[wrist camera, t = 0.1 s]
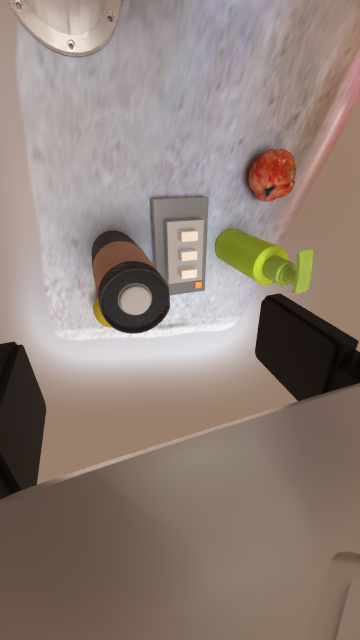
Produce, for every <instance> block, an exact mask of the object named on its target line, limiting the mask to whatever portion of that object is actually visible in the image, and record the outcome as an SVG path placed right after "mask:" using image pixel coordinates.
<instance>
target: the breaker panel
mask: <svg viewBox="0 0 360 640" xmlns="http://www.w3.org/2000/svg"><path fill="white" fill-rule="evenodd" d="M150 202H151V221H152V239H153V257H154V267H155V268H156V269H157V271H158V272H159V273H160V274H161V276H162V277H163V278H164V280H165V281H166V282H167V284H168V286H169V295H175V294H182V293H189V292H197V291H204V290H205V267H206V243H207V219H208V197H204V196H200V197H173V198H150Z"/></svg>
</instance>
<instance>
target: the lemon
mask: <svg viewBox="0 0 360 640" xmlns="http://www.w3.org/2000/svg"><path fill="white" fill-rule="evenodd" d="M93 310H94V315H95V317H96V319H97V320H98V321H99V322H100V323H101V324H102V325H104V326H106V327H112V326H110V325H109V324H108V323H107V322H106V320H105V319H104V317H103V315H102V313H101V310H100V306H99V301H98V297H97V298H96V299H95V302H94V306H93Z"/></svg>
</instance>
